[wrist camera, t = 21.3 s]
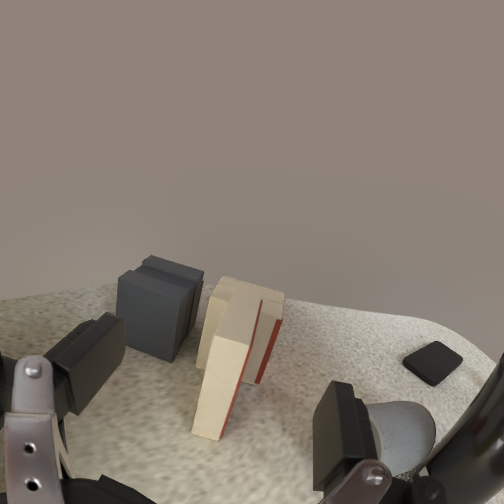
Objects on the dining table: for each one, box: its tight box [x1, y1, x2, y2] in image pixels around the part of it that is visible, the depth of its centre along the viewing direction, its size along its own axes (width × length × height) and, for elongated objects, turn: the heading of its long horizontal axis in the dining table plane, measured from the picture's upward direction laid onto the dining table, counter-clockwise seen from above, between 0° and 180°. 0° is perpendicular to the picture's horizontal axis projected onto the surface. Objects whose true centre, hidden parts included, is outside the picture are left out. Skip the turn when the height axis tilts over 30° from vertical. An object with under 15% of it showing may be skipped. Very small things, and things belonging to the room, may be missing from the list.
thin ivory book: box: [191, 288, 263, 441], centre depth 24 cm, size 3×8×11 cm, turn 172°
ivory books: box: [195, 275, 284, 386], centre depth 33 cm, size 7×8×9 cm
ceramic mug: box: [365, 401, 436, 477], centre depth 22 cm, size 11×8×8 cm
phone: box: [403, 341, 463, 386], centre depth 42 cm, size 7×1×15 cm
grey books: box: [116, 255, 204, 362], centre depth 34 cm, size 7×9×8 cm
